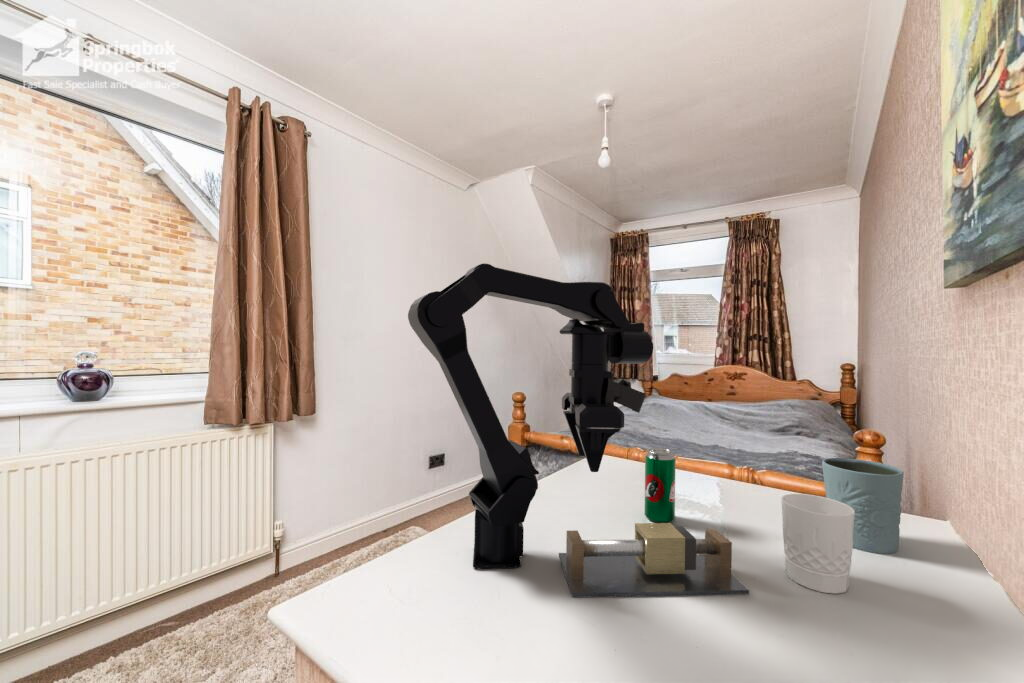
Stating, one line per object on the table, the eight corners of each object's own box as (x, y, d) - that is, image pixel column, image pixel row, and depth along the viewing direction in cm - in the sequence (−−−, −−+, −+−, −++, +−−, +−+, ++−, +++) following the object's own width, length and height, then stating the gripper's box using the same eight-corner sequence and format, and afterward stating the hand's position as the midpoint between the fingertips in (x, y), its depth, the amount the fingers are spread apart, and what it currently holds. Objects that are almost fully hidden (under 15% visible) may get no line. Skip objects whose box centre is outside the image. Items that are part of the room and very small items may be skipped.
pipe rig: (572, 597, 52) (572, 555, 52) (558, 556, 62) (559, 521, 62) (748, 594, 53) (749, 553, 53) (707, 554, 63) (708, 520, 63)
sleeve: (646, 574, 55) (647, 538, 55) (634, 556, 60) (635, 523, 60) (684, 573, 56) (685, 537, 56) (669, 556, 60) (670, 523, 60)
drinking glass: (895, 563, 62) (896, 479, 62) (812, 537, 69) (813, 463, 70) (908, 543, 68) (909, 466, 68) (831, 522, 76) (832, 453, 76)
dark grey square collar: (683, 570, 56) (684, 539, 56) (670, 554, 60) (671, 526, 60) (695, 569, 56) (696, 539, 56) (682, 554, 60) (682, 525, 60)
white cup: (821, 601, 52) (822, 518, 52) (766, 568, 60) (767, 496, 60) (870, 592, 54) (870, 512, 54) (811, 561, 62) (812, 491, 62)
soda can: (677, 526, 73) (677, 455, 73) (646, 523, 74) (646, 453, 74) (672, 514, 78) (673, 448, 78) (643, 512, 79) (643, 446, 79)
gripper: (662, 368, 59) (660, 482, 59) (623, 362, 78) (622, 449, 77) (581, 366, 59) (579, 481, 59) (562, 361, 77) (560, 448, 77)
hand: (588, 463), depth 68 cm, fingers open, 9 cm apart
